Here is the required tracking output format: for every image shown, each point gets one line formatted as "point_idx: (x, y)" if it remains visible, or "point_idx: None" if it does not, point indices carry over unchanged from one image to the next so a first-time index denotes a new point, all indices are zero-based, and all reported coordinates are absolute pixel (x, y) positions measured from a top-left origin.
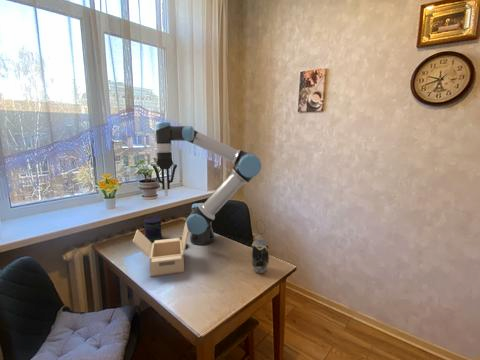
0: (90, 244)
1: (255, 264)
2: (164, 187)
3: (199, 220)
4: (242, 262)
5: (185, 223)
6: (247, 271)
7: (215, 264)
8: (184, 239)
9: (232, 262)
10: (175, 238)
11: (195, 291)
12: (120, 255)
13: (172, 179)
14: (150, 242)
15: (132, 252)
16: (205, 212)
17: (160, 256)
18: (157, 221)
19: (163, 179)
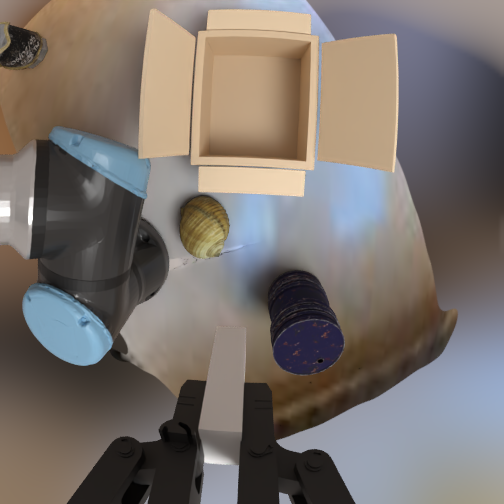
0: (446, 326)
1: (37, 34)
2: (244, 401)
3: (73, 131)
4: (53, 85)
5: (144, 136)
6: (60, 42)
7: (114, 80)
8: (176, 62)
9: (72, 87)
10: (215, 190)
11: None
12: (395, 231)
13: (105, 466)
14: (322, 154)
15: (363, 241)
16: (24, 149)
17: (280, 37)
18: (289, 325)
19: (251, 495)
